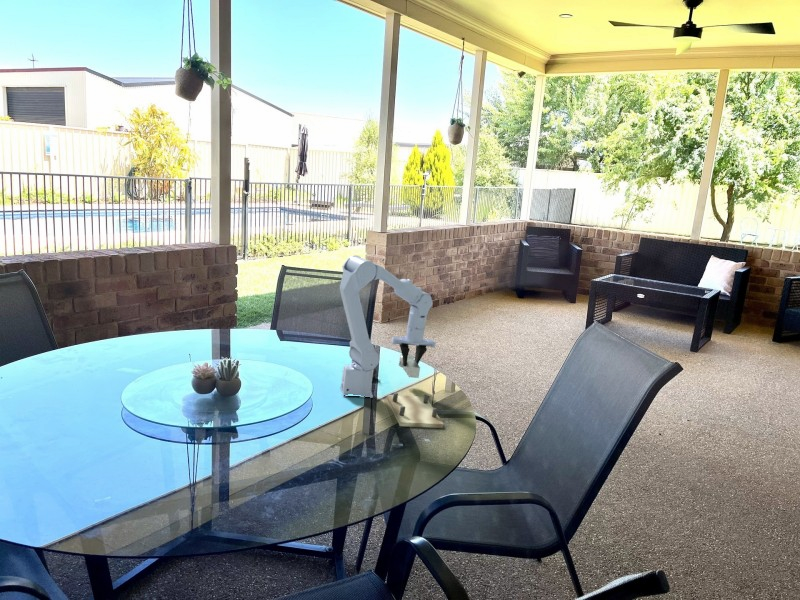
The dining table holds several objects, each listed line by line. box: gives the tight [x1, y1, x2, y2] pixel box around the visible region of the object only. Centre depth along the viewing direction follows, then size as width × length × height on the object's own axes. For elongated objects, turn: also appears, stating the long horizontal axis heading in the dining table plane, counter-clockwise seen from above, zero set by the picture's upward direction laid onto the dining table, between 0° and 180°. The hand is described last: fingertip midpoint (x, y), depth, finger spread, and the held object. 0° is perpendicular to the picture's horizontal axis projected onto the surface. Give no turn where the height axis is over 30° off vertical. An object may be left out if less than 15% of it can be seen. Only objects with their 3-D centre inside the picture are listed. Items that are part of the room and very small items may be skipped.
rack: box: [386, 392, 445, 429], centre depth 176 cm, size 13×20×4 cm, turn 13°
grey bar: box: [398, 353, 421, 379], centre depth 193 cm, size 5×14×4 cm, turn 13°
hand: (409, 365), depth 193 cm, fingers closed on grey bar, 3 cm apart
